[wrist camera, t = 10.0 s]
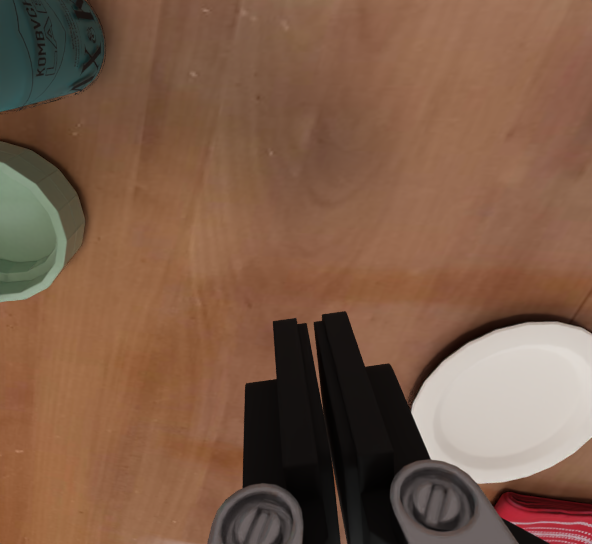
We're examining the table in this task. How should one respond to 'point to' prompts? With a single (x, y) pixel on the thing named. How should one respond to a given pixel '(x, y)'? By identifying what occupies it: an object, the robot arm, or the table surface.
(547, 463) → the plate
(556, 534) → the dish towel
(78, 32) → the beverage bottle
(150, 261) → the table surface
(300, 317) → the table surface
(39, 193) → the celadon bowl
